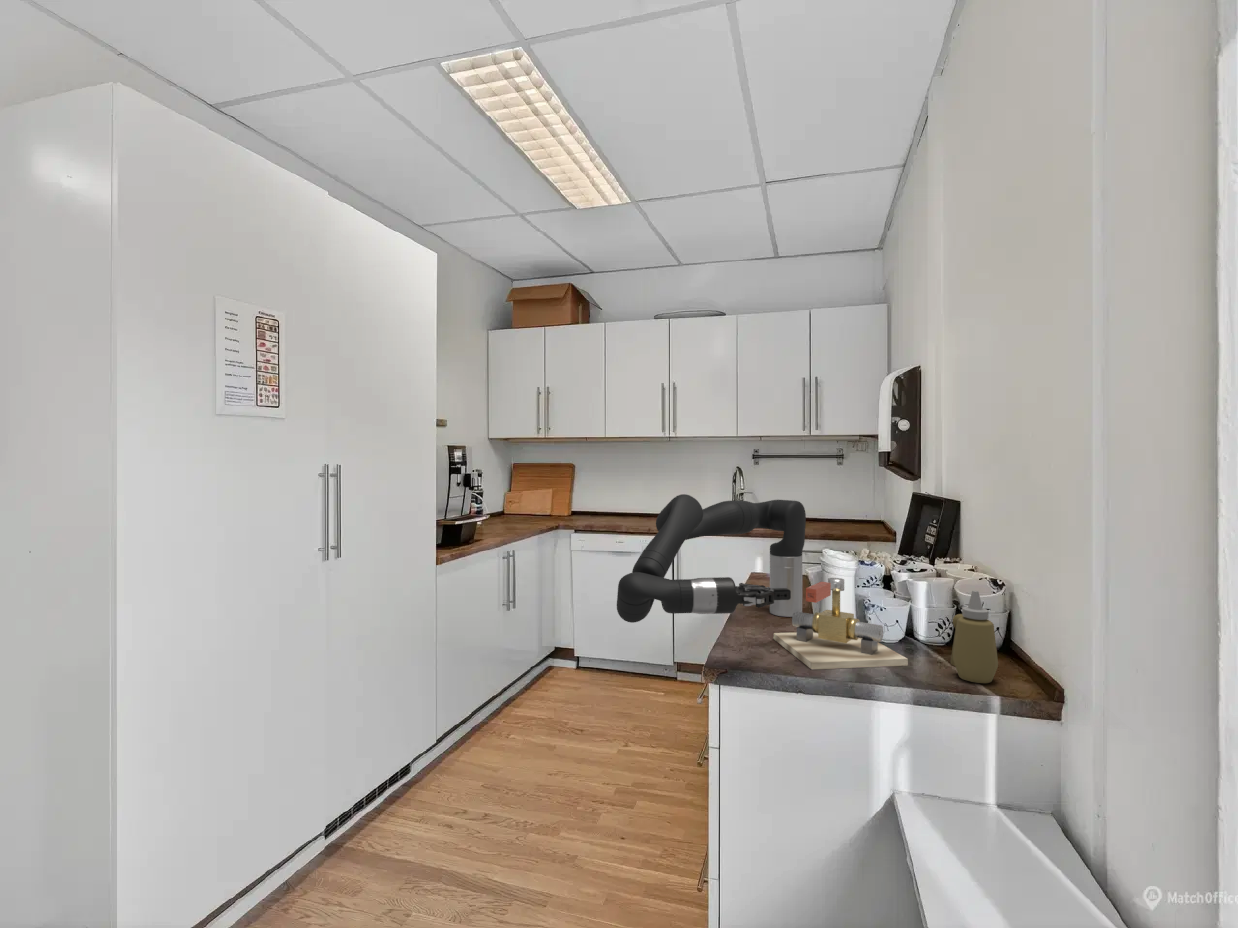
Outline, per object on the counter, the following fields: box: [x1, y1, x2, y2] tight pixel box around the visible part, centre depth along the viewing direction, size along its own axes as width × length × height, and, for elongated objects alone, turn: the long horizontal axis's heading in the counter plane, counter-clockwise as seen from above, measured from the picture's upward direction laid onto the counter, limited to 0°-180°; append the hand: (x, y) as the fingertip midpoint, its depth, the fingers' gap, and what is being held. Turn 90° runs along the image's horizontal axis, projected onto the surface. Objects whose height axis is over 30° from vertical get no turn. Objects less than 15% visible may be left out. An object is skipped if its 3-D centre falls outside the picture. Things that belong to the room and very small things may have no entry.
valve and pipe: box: [791, 590, 884, 655], centre depth 140 cm, size 20×6×13 cm, turn 52°
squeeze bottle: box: [953, 590, 999, 684], centre depth 122 cm, size 8×8×18 cm
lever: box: [805, 577, 845, 604], centre depth 134 cm, size 18×4×3 cm, turn 142°
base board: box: [773, 631, 909, 670], centre depth 140 cm, size 22×22×2 cm
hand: (789, 593), depth 128 cm, fingers closed
